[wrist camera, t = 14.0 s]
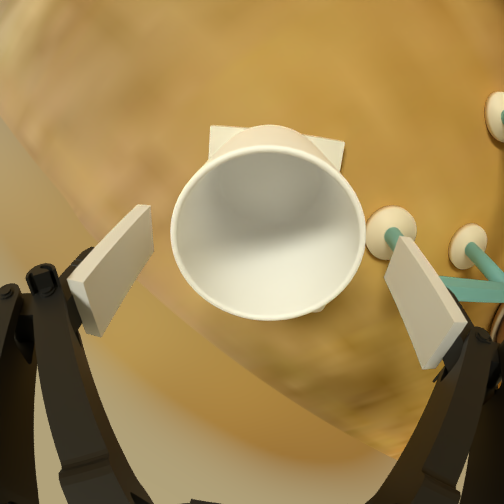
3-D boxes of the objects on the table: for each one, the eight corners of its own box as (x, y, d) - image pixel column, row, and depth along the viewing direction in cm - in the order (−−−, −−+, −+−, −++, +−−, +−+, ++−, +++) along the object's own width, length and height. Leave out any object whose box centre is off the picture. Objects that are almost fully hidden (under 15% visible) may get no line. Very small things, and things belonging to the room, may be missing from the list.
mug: (266, 275, 26) (262, 373, 17) (192, 158, 21) (133, 210, 12) (356, 236, 24) (399, 325, 14) (294, 103, 19) (317, 107, 9)
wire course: (397, 41, 16) (460, 22, 8) (517, 103, 16) (580, 121, 8) (357, 252, 25) (387, 320, 17) (472, 267, 25) (514, 319, 17)
